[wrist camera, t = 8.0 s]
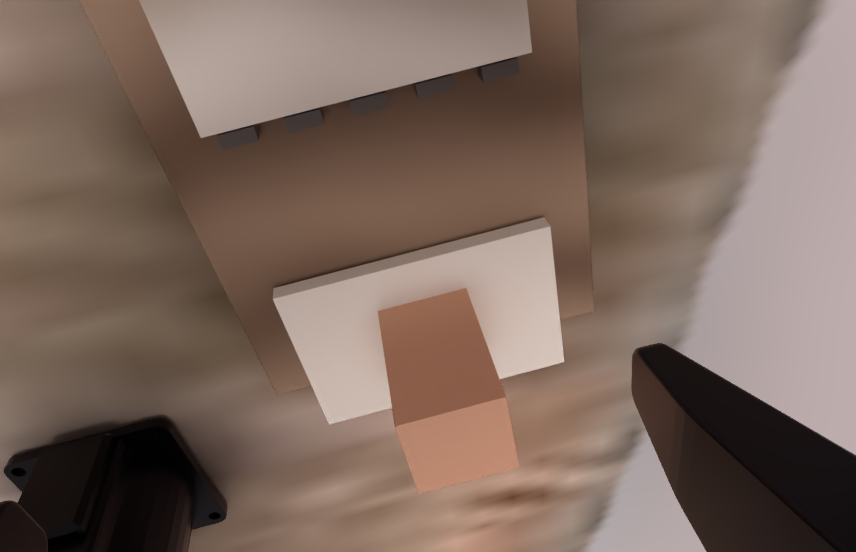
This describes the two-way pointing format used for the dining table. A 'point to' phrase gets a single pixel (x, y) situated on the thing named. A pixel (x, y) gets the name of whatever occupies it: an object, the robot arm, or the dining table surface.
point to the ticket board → (355, 134)
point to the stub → (433, 344)
